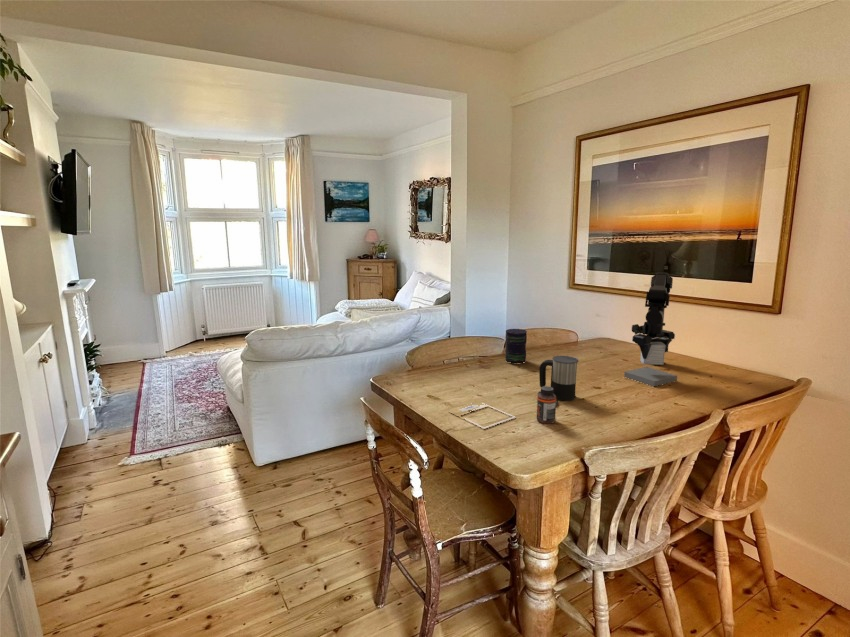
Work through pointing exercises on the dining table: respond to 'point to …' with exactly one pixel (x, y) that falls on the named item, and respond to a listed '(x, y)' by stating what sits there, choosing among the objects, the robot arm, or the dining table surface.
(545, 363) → the milk frother
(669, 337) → the robot arm
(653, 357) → the medicine box
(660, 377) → the riser block
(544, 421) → the supplement bottle
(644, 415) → the dining table surface
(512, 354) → the storage jar
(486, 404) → the photo frame
